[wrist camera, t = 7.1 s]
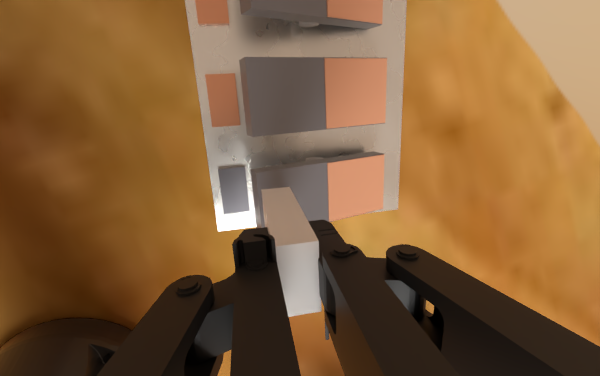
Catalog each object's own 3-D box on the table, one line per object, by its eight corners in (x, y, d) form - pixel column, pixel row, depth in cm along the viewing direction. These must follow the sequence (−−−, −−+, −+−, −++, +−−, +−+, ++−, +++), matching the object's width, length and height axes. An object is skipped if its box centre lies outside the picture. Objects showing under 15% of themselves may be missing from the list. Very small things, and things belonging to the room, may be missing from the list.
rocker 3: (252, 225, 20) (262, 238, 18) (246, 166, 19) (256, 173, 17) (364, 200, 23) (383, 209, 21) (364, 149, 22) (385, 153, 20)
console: (222, 208, 26) (217, 233, 21) (189, -30, 21) (174, -71, 16) (372, 191, 28) (399, 210, 23) (375, -27, 23) (411, -62, 18)
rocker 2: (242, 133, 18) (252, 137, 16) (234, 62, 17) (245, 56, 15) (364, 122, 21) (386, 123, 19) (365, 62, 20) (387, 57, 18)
